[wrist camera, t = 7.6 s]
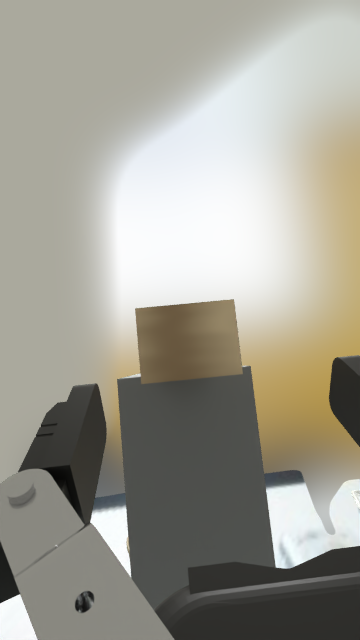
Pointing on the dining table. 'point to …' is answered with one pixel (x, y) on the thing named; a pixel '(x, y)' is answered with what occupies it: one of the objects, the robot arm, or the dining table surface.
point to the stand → (192, 479)
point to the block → (188, 341)
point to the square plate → (356, 497)
